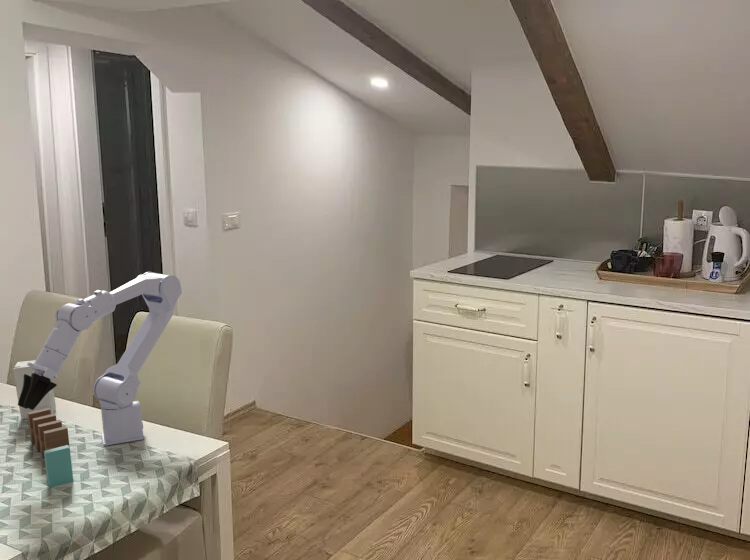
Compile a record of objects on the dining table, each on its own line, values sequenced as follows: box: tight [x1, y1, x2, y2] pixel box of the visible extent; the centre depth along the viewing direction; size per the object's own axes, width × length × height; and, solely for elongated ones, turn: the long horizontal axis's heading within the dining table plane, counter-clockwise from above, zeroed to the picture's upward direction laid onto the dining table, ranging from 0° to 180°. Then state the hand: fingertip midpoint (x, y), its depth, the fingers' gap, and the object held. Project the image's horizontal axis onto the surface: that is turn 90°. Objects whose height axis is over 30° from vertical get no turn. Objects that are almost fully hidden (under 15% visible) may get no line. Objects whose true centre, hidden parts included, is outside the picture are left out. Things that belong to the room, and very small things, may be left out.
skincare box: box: [12, 359, 57, 420], centre depth 207 cm, size 8×6×15 cm
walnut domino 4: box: [43, 425, 71, 451], centre depth 178 cm, size 2×5×8 cm, turn 127°
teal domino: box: [44, 445, 74, 488], centre depth 168 cm, size 2×5×8 cm, turn 127°
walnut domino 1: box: [27, 408, 51, 446], centre depth 190 cm, size 2×5×8 cm, turn 127°
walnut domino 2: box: [32, 413, 57, 453], centre depth 186 cm, size 2×5×8 cm, turn 127°
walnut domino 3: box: [38, 419, 63, 460], centre depth 182 cm, size 2×5×8 cm, turn 127°
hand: (25, 407), depth 170 cm, fingers open, 7 cm apart
